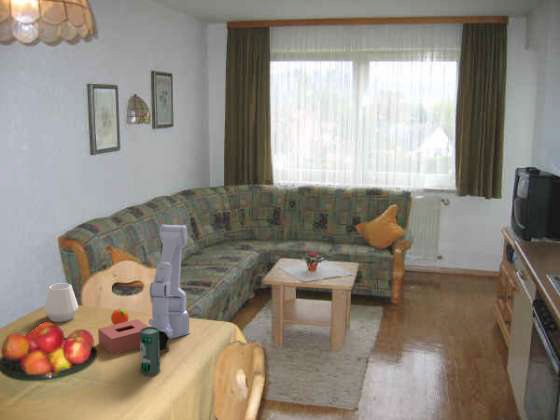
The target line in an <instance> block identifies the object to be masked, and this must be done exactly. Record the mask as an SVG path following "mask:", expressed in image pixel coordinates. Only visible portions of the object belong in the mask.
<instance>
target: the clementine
mask: <svg viewBox="0 0 560 420" xmlns="http://www.w3.org/2000/svg"><path fill="white" fill-rule="evenodd" d="M110 319H111V322H112V325H115V324H119V323H123V322H127V321H129V319H130V318H129V313H128V312H127V310H125V309H122V308H117V309H115V310H114V311H113V312H112V314H111V316H110Z"/></svg>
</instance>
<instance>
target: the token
mask: <svg viewBox="0 0 560 420" xmlns="http://www.w3.org/2000/svg"><path fill="white" fill-rule="evenodd" d="M168 352H169V341H168V342H167V345H166V349H164V350H160V355H162V354H165V353H168Z"/></svg>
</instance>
